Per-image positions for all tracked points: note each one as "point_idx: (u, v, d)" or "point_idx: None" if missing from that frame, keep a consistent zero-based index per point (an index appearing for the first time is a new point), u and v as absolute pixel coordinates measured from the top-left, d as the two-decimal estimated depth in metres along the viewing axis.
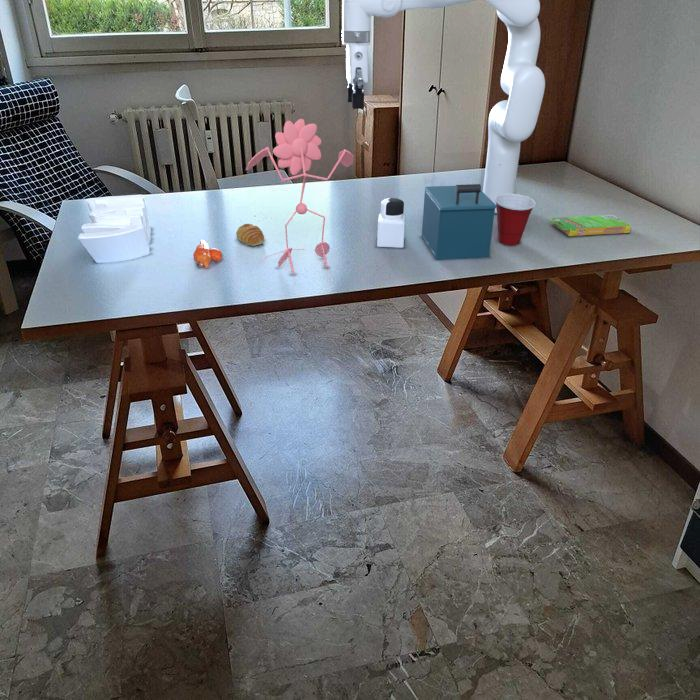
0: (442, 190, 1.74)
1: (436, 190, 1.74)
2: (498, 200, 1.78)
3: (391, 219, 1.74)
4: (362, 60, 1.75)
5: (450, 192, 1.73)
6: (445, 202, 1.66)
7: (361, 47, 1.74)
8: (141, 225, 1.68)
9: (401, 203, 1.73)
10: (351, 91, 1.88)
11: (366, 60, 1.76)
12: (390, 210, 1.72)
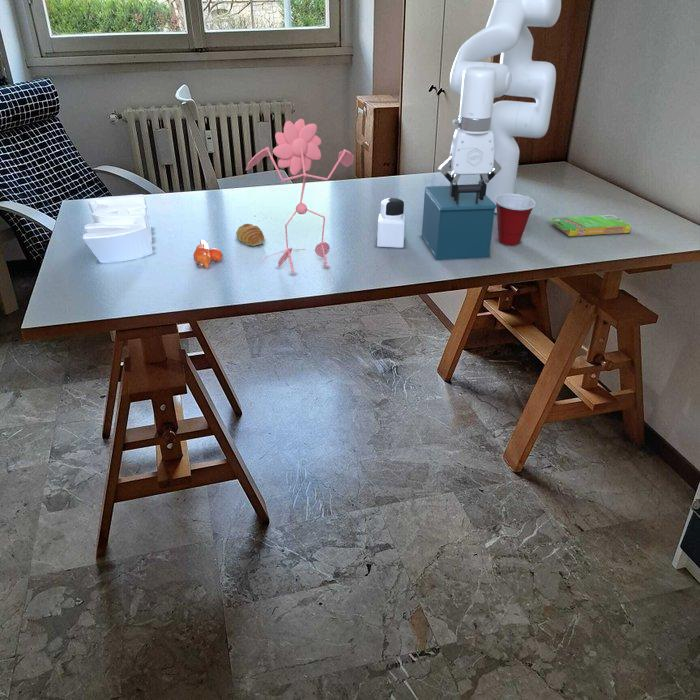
0: (442, 190, 1.74)
1: (436, 190, 1.74)
2: (498, 200, 1.78)
3: (391, 219, 1.74)
4: (453, 147, 1.56)
5: None
6: (445, 202, 1.66)
7: (456, 132, 1.55)
8: (144, 225, 1.68)
9: (401, 203, 1.73)
10: None
11: (455, 148, 1.56)
12: (390, 210, 1.72)
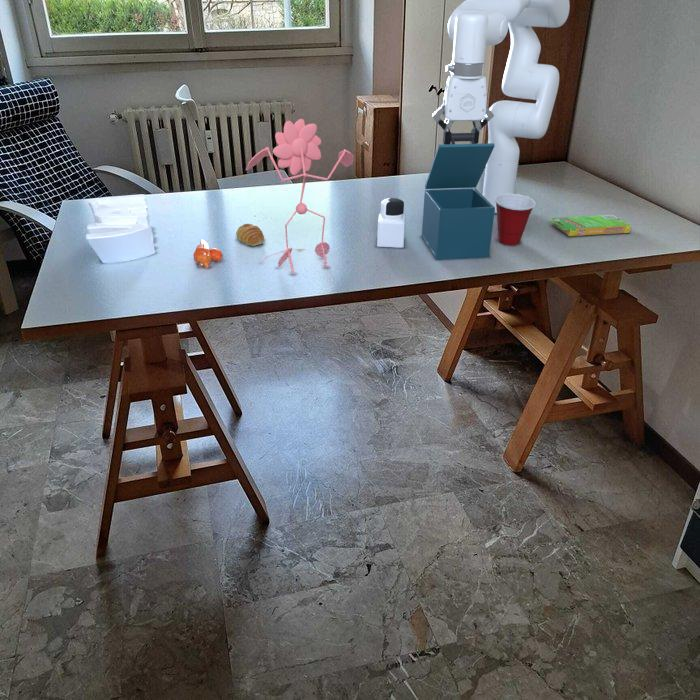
0: None
1: None
2: (498, 200, 1.78)
3: (391, 219, 1.74)
4: (446, 93, 1.59)
5: None
6: None
7: (449, 78, 1.58)
8: (147, 224, 1.68)
9: (401, 203, 1.73)
10: None
11: (448, 94, 1.59)
12: (390, 210, 1.72)
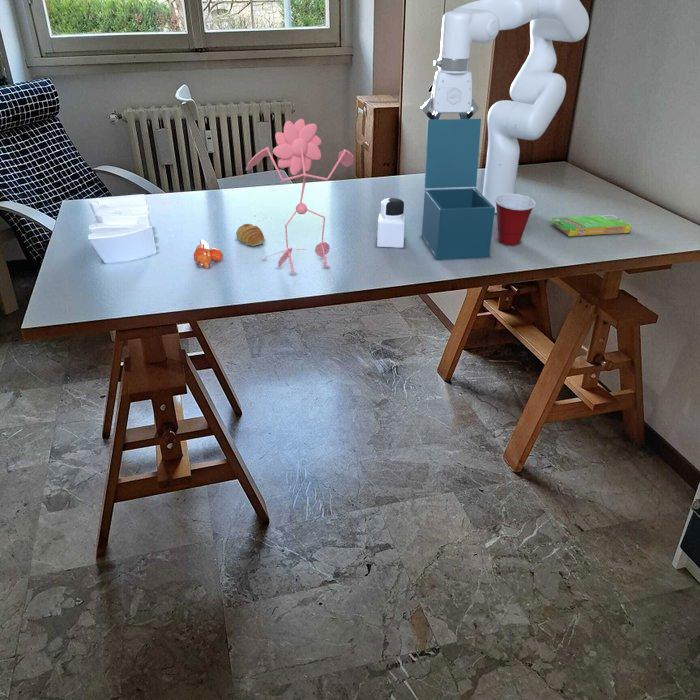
0: None
1: None
2: (498, 200, 1.78)
3: (391, 219, 1.74)
4: (434, 86, 1.70)
5: None
6: None
7: (436, 73, 1.69)
8: (148, 224, 1.69)
9: (401, 203, 1.73)
10: None
11: (436, 87, 1.69)
12: (390, 210, 1.72)
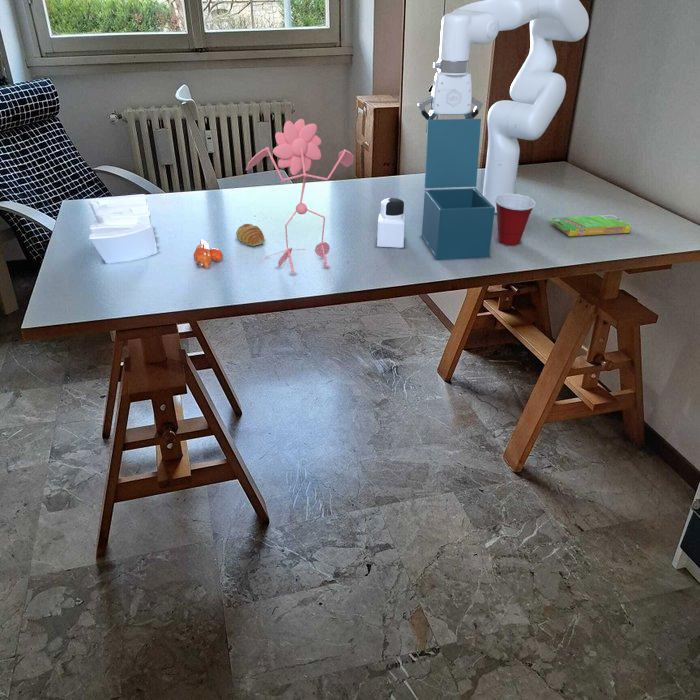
0: None
1: None
2: (498, 200, 1.78)
3: (391, 219, 1.74)
4: (434, 88, 1.70)
5: None
6: None
7: (436, 75, 1.69)
8: (149, 224, 1.69)
9: (401, 203, 1.73)
10: None
11: (436, 89, 1.69)
12: (390, 210, 1.72)
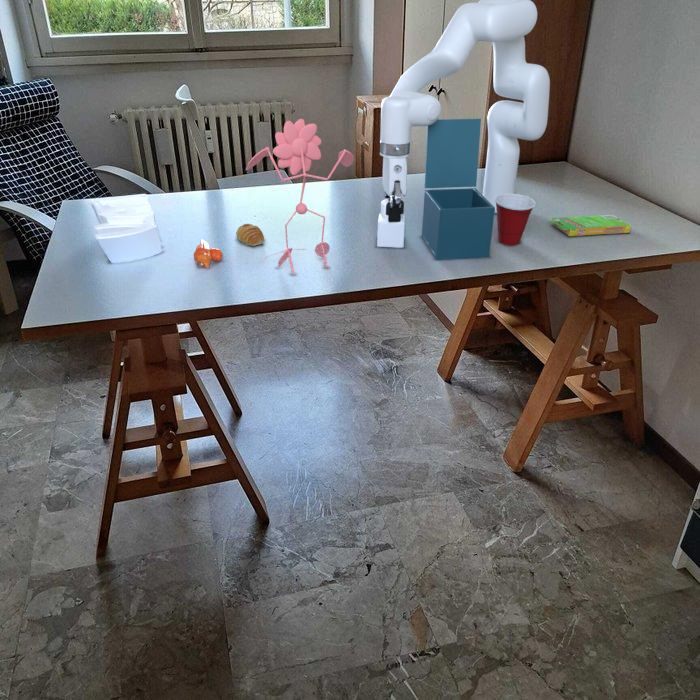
0: None
1: None
2: (498, 200, 1.78)
3: None
4: (401, 173, 1.66)
5: None
6: None
7: (400, 160, 1.64)
8: (153, 223, 1.69)
9: (401, 203, 1.73)
10: None
11: (405, 173, 1.66)
12: None
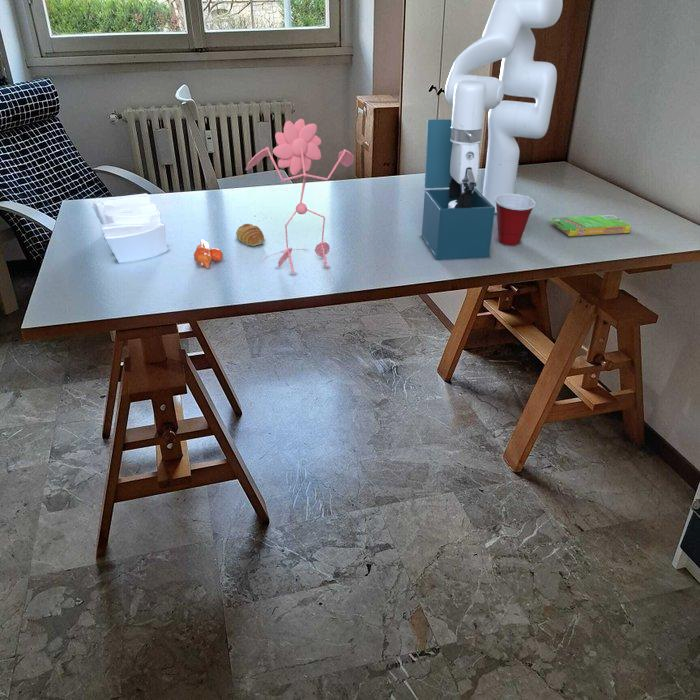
0: None
1: None
2: (498, 200, 1.78)
3: None
4: (473, 160, 1.61)
5: None
6: None
7: (473, 146, 1.60)
8: (159, 222, 1.70)
9: None
10: (453, 186, 1.73)
11: (477, 160, 1.61)
12: None
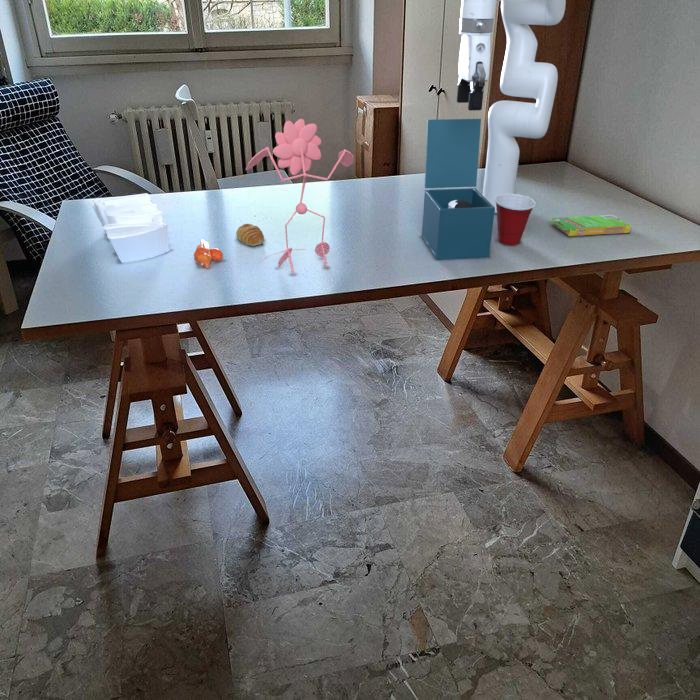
0: None
1: None
2: (498, 200, 1.78)
3: None
4: (484, 53, 1.49)
5: None
6: None
7: (484, 37, 1.47)
8: (161, 222, 1.70)
9: (469, 205, 1.69)
10: (462, 90, 1.61)
11: (489, 53, 1.49)
12: None
